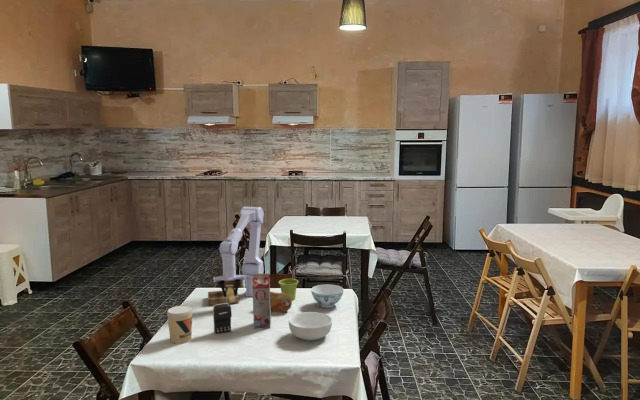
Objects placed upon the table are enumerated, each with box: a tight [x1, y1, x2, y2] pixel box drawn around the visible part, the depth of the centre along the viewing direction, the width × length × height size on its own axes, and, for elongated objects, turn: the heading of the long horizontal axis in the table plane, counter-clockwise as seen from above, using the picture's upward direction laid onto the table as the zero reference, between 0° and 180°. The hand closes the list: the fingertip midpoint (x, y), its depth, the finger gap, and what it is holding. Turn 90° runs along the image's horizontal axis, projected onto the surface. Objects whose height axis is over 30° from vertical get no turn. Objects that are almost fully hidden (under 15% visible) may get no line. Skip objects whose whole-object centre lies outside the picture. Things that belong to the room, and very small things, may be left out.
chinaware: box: [310, 283, 345, 309], centre depth 213 cm, size 15×15×8 cm
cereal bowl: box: [288, 311, 333, 342], centre depth 178 cm, size 17×17×7 cm
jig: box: [207, 290, 240, 307], centre depth 221 cm, size 14×12×3 cm
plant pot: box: [278, 278, 299, 301], centre depth 222 cm, size 9×9×9 cm
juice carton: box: [252, 273, 272, 330], centre depth 189 cm, size 7×7×22 cm
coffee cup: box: [166, 305, 193, 345], centre depth 176 cm, size 9×9×12 cm
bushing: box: [225, 284, 235, 303], centre depth 211 cm, size 4×4×7 cm
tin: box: [270, 291, 293, 313], centre depth 207 cm, size 15×3×8 cm, turn 68°
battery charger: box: [212, 303, 233, 335], centre depth 183 cm, size 7×4×11 cm, turn 115°
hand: (230, 296), depth 211 cm, fingers closed on bushing, 4 cm apart
